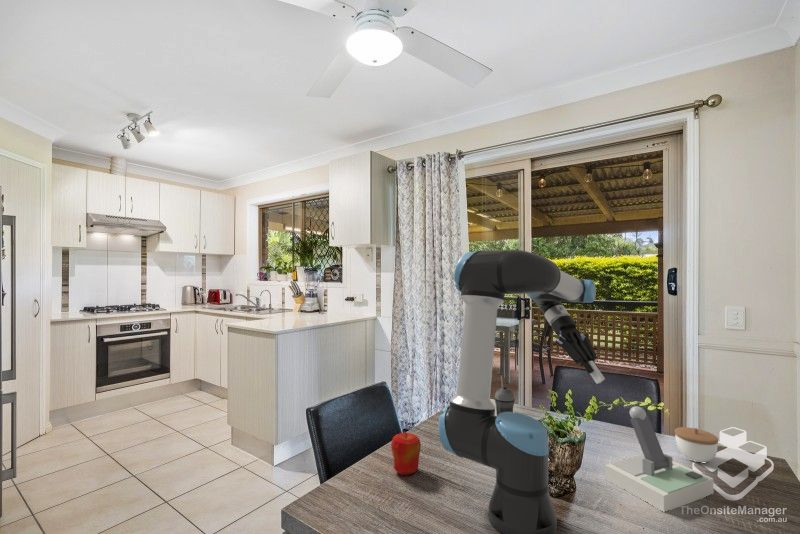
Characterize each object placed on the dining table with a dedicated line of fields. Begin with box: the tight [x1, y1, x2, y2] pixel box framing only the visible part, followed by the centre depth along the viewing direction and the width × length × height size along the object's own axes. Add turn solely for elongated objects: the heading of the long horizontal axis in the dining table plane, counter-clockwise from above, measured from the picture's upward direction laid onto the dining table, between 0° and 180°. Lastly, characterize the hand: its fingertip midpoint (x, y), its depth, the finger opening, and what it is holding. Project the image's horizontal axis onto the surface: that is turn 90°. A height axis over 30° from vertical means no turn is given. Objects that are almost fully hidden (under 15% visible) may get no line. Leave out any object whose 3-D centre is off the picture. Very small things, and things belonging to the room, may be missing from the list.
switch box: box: [604, 453, 715, 513], centre depth 103 cm, size 16×20×8 cm
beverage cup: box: [493, 375, 516, 416], centre depth 140 cm, size 7×7×20 cm
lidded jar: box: [674, 426, 719, 463], centre depth 119 cm, size 11×11×9 cm
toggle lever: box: [629, 405, 668, 471], centre depth 106 cm, size 4×5×16 cm
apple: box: [390, 431, 422, 476], centre depth 111 cm, size 9×8×12 cm
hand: (600, 381), depth 120 cm, fingers closed
